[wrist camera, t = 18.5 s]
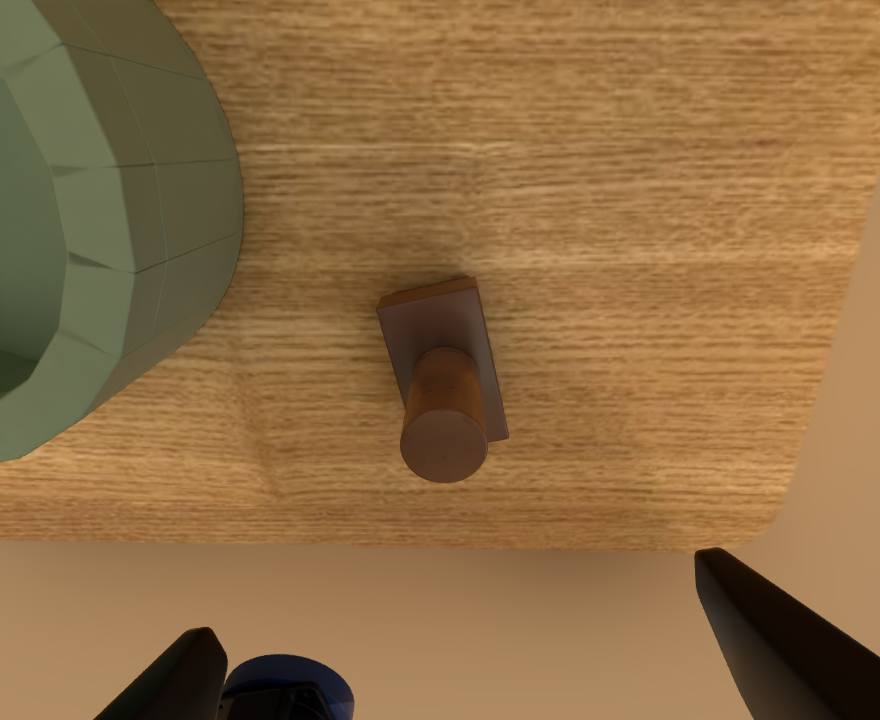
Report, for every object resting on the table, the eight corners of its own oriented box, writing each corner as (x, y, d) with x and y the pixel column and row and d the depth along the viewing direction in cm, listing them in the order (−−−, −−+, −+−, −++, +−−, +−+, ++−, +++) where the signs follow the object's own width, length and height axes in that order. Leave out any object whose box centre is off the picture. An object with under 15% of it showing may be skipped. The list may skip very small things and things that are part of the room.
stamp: (503, 407, 21) (526, 522, 15) (422, 422, 21) (409, 541, 15) (474, 268, 19) (485, 333, 12) (384, 289, 19) (350, 361, 13)
